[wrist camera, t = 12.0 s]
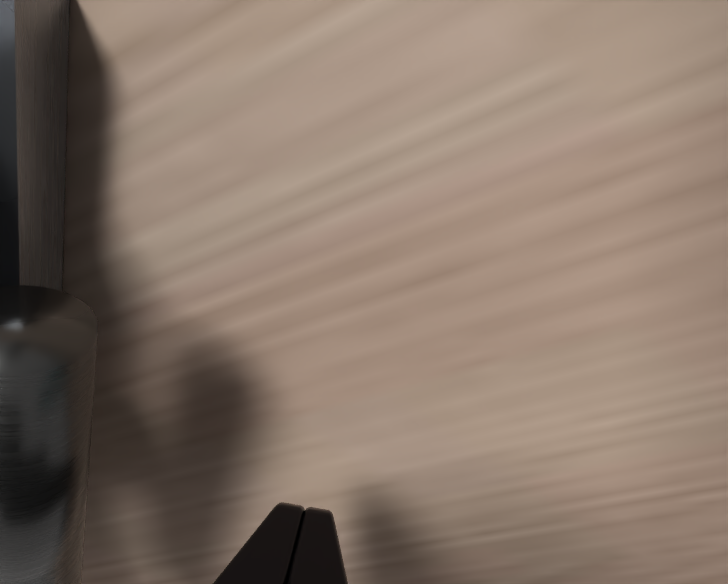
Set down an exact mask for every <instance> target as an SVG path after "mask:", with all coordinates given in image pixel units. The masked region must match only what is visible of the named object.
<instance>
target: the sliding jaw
mask: <svg viewBox="0 0 728 584" xmlns="http://www.w3.org/2000/svg"><path fill="white" fill-rule="evenodd" d="M97 336H98V322H97V318H96V316H95V314H94V312H93V311H92V309H91V308H90V307H89V306H88V305H87V304H85V303H84V302H83V301H81V300H80V299H78V298H76V297H75V296H72V295H70V294H68V293H65V292H62V291H59V290H55V289H51V288H46V287H40V286H28V285H12V286H1V287H0V584H81V577H82V562H83V547H84V532H85V517H86V502H87V486H88V471H89V456H90V441H91V426H92V411H93V396H94V381H95V366H96V351H97Z"/></svg>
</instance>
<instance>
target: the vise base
mask: <svg viewBox="0 0 728 584" xmlns="http://www.w3.org/2000/svg"><path fill="white" fill-rule="evenodd" d="M69 1H70V0H0V287H1V286H12V285H28V286H40V287H46V288H51V289H55V290H59V291H62V272H63V234H64V195H65V156H66V118H67V79H68V40H69Z"/></svg>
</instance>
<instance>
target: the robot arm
mask: <svg viewBox="0 0 728 584" xmlns="http://www.w3.org/2000/svg"><path fill="white" fill-rule="evenodd" d="M213 584H348V582H347V577H346V573H345V568H344V563H343V559H342V554H341V549H340V545H339V540H338V536H337V531H336V526H335V522H334V517H333V514H332V512H331V511H329V510H325V509H319V508H313V507H309V508H307V509H306V510H305V509H304V507H303V506H301V505H295V504H289V503H279V504H277V505H276V506H275V507H274V509H273V510H272V511H271V512H270V513H269V515H268V516H267V517H266V518H265V520H264V521H263V522H262V523H261V525H260V526H259V527H258V528H257V530H256V531H255V532H254V533H253V535H252V536H251V537H250V538H249V540H248V541H247V542H246V543H245V545H244V546H243V547H242V548H241V550H240V551H239V552H238V553H237V554H236V556H235V557H234V558H233V559H232V561H231V562H230V563H229V564H228V566H227V567H226V568H225V569H224V571H223V572H222V573H221V574H220V576H219V577H218V578H217V579H216V581H215V582H214V583H213Z"/></svg>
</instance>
